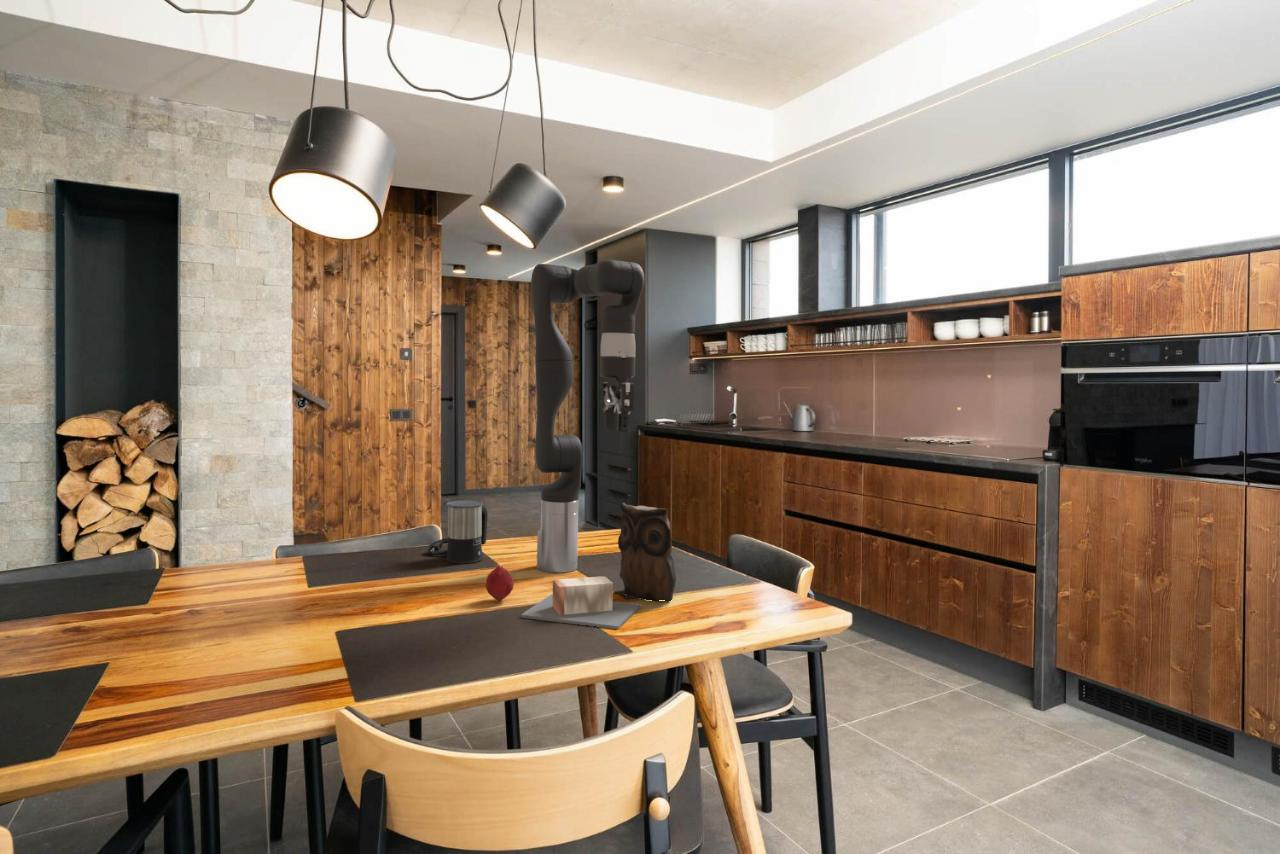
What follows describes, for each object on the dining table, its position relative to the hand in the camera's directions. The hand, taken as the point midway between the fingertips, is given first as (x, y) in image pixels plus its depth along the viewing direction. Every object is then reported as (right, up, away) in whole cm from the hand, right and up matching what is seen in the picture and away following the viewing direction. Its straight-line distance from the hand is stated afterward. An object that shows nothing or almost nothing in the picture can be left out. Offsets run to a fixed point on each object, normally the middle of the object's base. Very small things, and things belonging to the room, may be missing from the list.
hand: (616, 430), depth 160 cm
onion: (-24, -36, -4) cm, 44 cm away
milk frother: (-43, -33, +34) cm, 64 cm away
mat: (-6, -37, -10) cm, 38 cm away
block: (-1, -33, -8) cm, 34 cm away
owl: (+8, -36, +5) cm, 38 cm away
